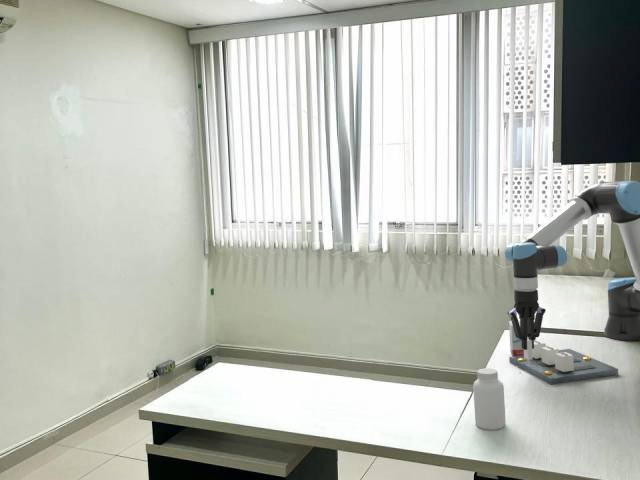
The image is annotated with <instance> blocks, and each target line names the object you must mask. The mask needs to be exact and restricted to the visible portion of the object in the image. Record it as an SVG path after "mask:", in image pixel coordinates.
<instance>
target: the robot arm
mask: <svg viewBox="0 0 640 480" xmlns="http://www.w3.org/2000/svg"><path fill="white" fill-rule="evenodd" d="M598 214H608V215H609V216H610V219H611V222H612V223H613V224H615V225H617V226H618V229H619V232H620V235H621V238H622V241H623V244H624V247H625V250H626V253H627V257H628V259H629V262H630V264H631V268H632V271H633V275H634V277H621V278H614V279H611V280H609V281H608V285H607V303H608V304H607V305H608V318H607V321H606V324H605V327H604V329H603V330H604V331H603V332H604V336H605V337H607V338H608V339H611V340H617V341H618V340H619V341H640V182H639V181H636V180H623V181H622V180H618V181H599V182H596V183H593V184H591V185H589V186H588V187H585V188H584V189H582V190H581V191H579V192H577V193H576V194H575V195H574V196H572V197H571V198H570V199H569V201H568V204H567V205H566V206H565V207H563V208H562V209H561V210H560V211H558V212H557V213H556V214H554V215H553V216H551V217H550V218H549V219H548V220H547V221H546V222H544V223H543V224H542V225H540V226H538V228H537V229H535V230H533V232H531V233H530V234H528V236H526V237H525V238H524V239H522V240H521V241H520V242H512V243H510V244H508V245H507V246H506V248H505V251H504V255H505V259H506V261H508V262H509V263H510V264H512V266H513V267H512V269H513V270H512V271H513V288H514V291H513V295H514V296H513V297H514V306H513V309H512V310H508V311H507V315H508V316H509V318H510V321H512V325H513V328H514V332H515V336H516V338H519V339H521V343H522V349H524V358H526V359H528V360H532V349H534V340H536V341H537V338H539V337H540V334H541V329H542V323H543V319H544V315H545V313H546V308H543V307H541V306H540V303H539V302H538V301H539V290H538V289H539V282H538V275H539V274H538V271H540V270H547V269H549V270H550V269H557V268H560V267H563V266H565V264H566V262H567V260H568V256H567V255H568V254H567V251H566V249H565V247H563V246H562V245H556V244H555V245H554V243H555V242H557V240H559V239H560V238H561V237H563V236H564V235H565V234H566V233H568V232H569V231H571V230H572V229H573V228H574V227H575V226H577V225H578V224H579V223H580V222H581V221H583V220H584V221H585V220H588V219H590V218H591V217H593V216H595V215H598ZM518 321H520V325H519V322H518Z"/></svg>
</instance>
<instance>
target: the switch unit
mask: <svg viewBox="0 0 640 480" xmlns="http://www.w3.org/2000/svg"><path fill="white" fill-rule="evenodd" d="M560 352H567V353H569V354H571V355H573V362H574V370H573V371H566V372H562V371H560V370H558V369H556V368H555V364H553V365H547V364H545V363H543V362H542V358H537V359H535V358H533V357H532V360H528V359H526V358H524V355H520V356H513V355H512V356H509V359H508V361H509V364H512V365H514V366H516V367H517V368H518V369H521V370H523V371H525V372H527V373H529V374H531V375H532V376H535V378H536V377H537V378H538V379H540V380H541V381H543V382H544V383H545V382H546V383H547V384H549V385H552V386H553V385H559V384H566V383H567V384H568V383H573V382H580V381H586V380H587V381H588V380H594V379H600V378H607V377H613V376H619V368H617V367H616V366H615V367H614V366H612V365H609V364H607V363H605V362H603V361H600V360H597V359H596V358H592V357H591V356H588V355H586V354H583V353H580V352H578V351H576V350H573V349H570V348H565V349H559V353H560Z"/></svg>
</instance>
